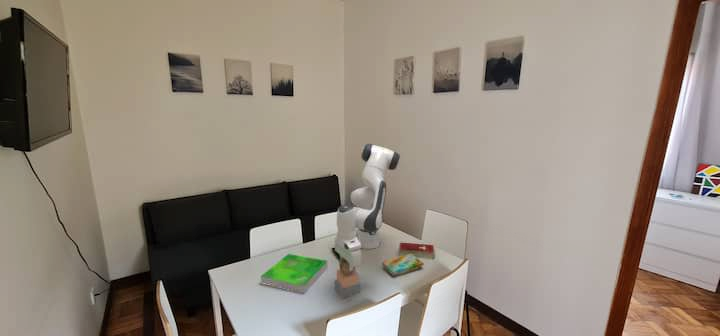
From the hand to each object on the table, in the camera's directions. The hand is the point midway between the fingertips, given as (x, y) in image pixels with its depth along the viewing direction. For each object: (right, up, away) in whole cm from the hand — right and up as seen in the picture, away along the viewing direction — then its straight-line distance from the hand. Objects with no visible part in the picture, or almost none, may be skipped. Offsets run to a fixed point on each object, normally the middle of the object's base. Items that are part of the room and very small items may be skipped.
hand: (347, 266), depth 140 cm
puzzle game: (+30, -9, +23) cm, 39 cm away
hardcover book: (+41, -6, +40) cm, 58 cm away
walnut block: (0, -2, 0) cm, 2 cm away
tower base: (0, -13, +3) cm, 13 cm away
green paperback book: (-28, -11, +16) cm, 34 cm away
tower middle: (0, -8, +2) cm, 8 cm away
